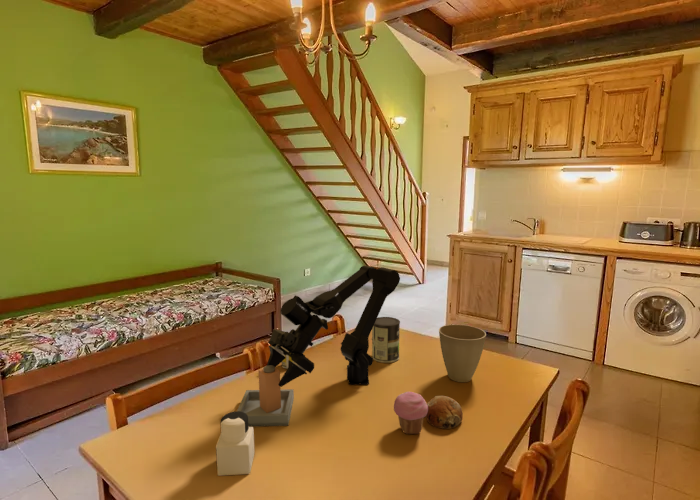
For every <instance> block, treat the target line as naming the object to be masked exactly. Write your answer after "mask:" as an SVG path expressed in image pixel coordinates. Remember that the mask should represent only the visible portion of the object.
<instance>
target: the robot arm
mask: <svg viewBox="0 0 700 500" xmlns="http://www.w3.org/2000/svg"><path fill="white" fill-rule="evenodd" d="M371 280H372V282H371V284H372V290H371V291H372V292H371V294H370V296H369V298H368V300H367V302H366V305H365V307H364V309H363V311H362V313H361V315H360V318H359V320H358V323H357V324H356V327H355V329H354V330H353V331H352V332H351V333H348V332H346V333H345V334H344V337H343V339H342V341H341V342H340V345H341V346H340V353H341V355H342V356H343V357H344V359H345V360H346V361H347V362H348V364H347V365H346V366H347V367H346V379H347V381H348V385H349V386H350V385H351V386H352V385H361V386H362V385H369V384H370V381H369V380H370V379H369V367H370V366H372V365H373V363H374V359H373V358H372V356H371V355H370V354H369V353H368V352H369V347H370V345H369V344H370V342H369V336H370V335H371V333H372V328H373V326H374V323H375V321H376V319H377V318H378V316H379V314H380V313H381V309H382V307H383V305H384V304H385V301H386V298H387V297H388V296H389V295H391V294H392V293H393V292H395V289H397V287H398V285H399V283H400V281H401V277H400V273H399V272H398V271H397V270H395V269H391V268H388V267H383V266H381V267H378V268H375V267H373V266H370V265H362V266H360V268H359V269H358V270H357V271H355V272H354V273H353V274H351V275H350V276H349V277H348V278H346V279H345V280H344V281H342V283H340V284H339V285H337V286H336V287H335V288H333V289H331V290H328V291H324V292H322V293H320V294H319V295H316V296H315V297H314V298H313V299H312V300H310V301H307V302H306V301H304V300H303V299H302V298H301V297H300V296H299V295H293V297H292V298H290V299H288V300H287V301H285V302H284V303H283V304H282V306H281V308H280V314H281V315H282V316H283V317H284V318H286V319H287V320H288V321H289V322H291V323H292V324H293V325H294V326H297V328H295V329H294V328H293V329H290V330H289V332H288V331H283V330H279V329H276V328H274V329H272V332H271V335H270V338H269V341H268V342H267V343H268V349H269V357H268V361H267V363H266V366H269V365H272V366H274V367H275V368H277V367H278V366H279V365H280V364H282V363H281V362H282V361H283V360H284V359H285V358H286V357H284V356H283V355H282V354H284V355H288V356H290V357H291V360H293V361H294V362H291V361H290V360H288V369H286V370H285V372H284V374H283V375H282V377H280V382H279V384H278V385H279V386H280V388H281V387H283V386H285V385H287V384H289V383H291V382H292V381H294V380H295V379H297V378H299V377H301V376H304V375H308V373H309V374H311V373H313V371H314V370H315V363H314V362H313V361H312V360H310V359H309V358H308V357H306V355H305V354H304V353H305V352H306V349H308V348H309V346H310V347H313V345H314V342H313V340H314V339H315V337H316V336H317V334H318V333H319V331H320V330H321V329H322V328H323V329H325V330H327V331H328V329H329V325H328V320H327V319H331V318H333V317H334V316H335V315H336V314H337V313H338V312H339V311H340V310H341V309H342V306H343V304H344V302H345V301H346V300H348V298H350V297H351V296H353V295H354V294H355V293H356V292H358V291H359V290H360V289H361V288H363V287H364V286H365V285H366V284H367V283H369V282H370V281H371ZM320 316H321V317H323V318H321V317H320ZM293 353H294V354H293Z"/></svg>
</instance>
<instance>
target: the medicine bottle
mask: <svg viewBox="0 0 700 500" xmlns="http://www.w3.org/2000/svg"><path fill="white" fill-rule="evenodd" d="M219 421H220V423H219V424H220V434H219V437H218V440H217V442H216V445H215V458H216V472H217V476H234V475H235V476H236V475H238V476H239V475H249V474H250V473H251V470H252V466H253V461H254V457H255V434H254V432H255V431H254V426H251V427H249V424H248V415H247V414H246V413H244V412H241V411H237V410H236V411H230V412H228V413H225V414H224V415H223V416H222V417H221V419H219Z"/></svg>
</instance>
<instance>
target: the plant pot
mask: <svg viewBox="0 0 700 500" xmlns="http://www.w3.org/2000/svg"><path fill="white" fill-rule="evenodd" d="M438 334H439V343H440V348H441V354H442V359H443V362H444V363H443V364H444V367H445V370H446V372H447V376H448V378H449V379H450V380H452V381H454V382H458V383H468V382H471V380H472V379H473V377H474V375H475V373H476V370H477V368H478V365H479V363H480V360H481V357H482V354H483V351H484V346H485V344H486V343H485V341H486V337H487V332H486V331H485V330H483V329H481V328H479V327H476V326H472V325H468V324H458V323H456V324H453V323H452V324H445V325H442V326H440V327H439V329H438Z"/></svg>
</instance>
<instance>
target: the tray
mask: <svg viewBox="0 0 700 500" xmlns="http://www.w3.org/2000/svg"><path fill="white" fill-rule="evenodd" d="M294 393H295V391H294V389H293V388H292V389H288V388H287V389H281V408H279V409H277V410H274V411H271V412H268V413H266V412H265V411H264V410H263V409H262V408H261V407H260V396H259V389H247V390H245V393H244V395H243V397H242V399H241V401H240V404H239V405H238V407H237V410H236V411H241V412H244V413H246V414H247V415H248V424H249V427H284V426H285V427H287V426H289V423H290V419H291V414H292V409H293V404H294V399H295V396H294V395H295V394H294Z"/></svg>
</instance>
